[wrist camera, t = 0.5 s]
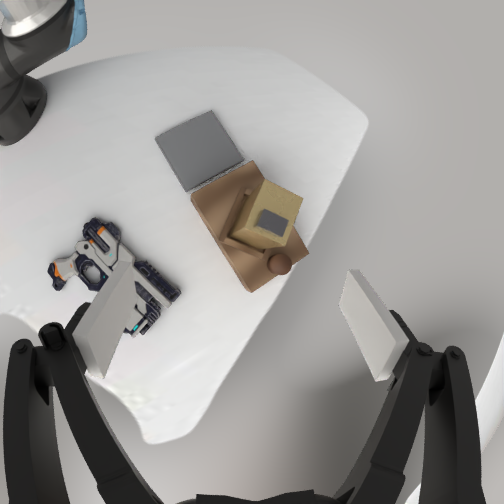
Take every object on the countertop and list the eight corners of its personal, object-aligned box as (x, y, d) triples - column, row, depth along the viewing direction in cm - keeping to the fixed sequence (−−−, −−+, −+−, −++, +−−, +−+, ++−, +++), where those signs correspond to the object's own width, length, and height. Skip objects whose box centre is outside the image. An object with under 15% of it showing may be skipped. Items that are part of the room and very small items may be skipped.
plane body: (189, 200, 43) (189, 190, 37) (248, 167, 46) (258, 154, 39) (245, 290, 45) (254, 295, 39) (300, 253, 47) (317, 252, 41)
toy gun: (47, 273, 38) (100, 208, 41) (125, 356, 40) (182, 291, 43) (40, 273, 35) (95, 205, 38) (121, 361, 37) (181, 293, 40)
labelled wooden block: (229, 236, 41) (246, 225, 29) (244, 199, 41) (267, 176, 29) (259, 249, 42) (288, 245, 30) (274, 213, 42) (307, 196, 30)
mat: (155, 139, 42) (154, 138, 41) (211, 112, 44) (211, 110, 44) (185, 192, 43) (185, 191, 42) (242, 161, 45) (243, 159, 45)
